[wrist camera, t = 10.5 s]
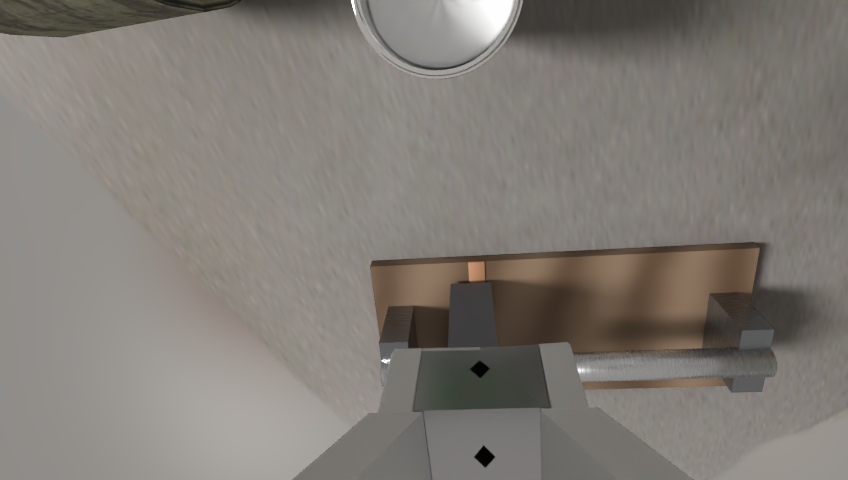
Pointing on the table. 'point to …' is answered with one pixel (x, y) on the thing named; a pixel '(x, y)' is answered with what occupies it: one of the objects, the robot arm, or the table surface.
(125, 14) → the tabletop clock
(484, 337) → the collar
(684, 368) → the linear slide rail
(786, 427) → the table surface
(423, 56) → the beer glass
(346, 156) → the table surface
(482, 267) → the board
